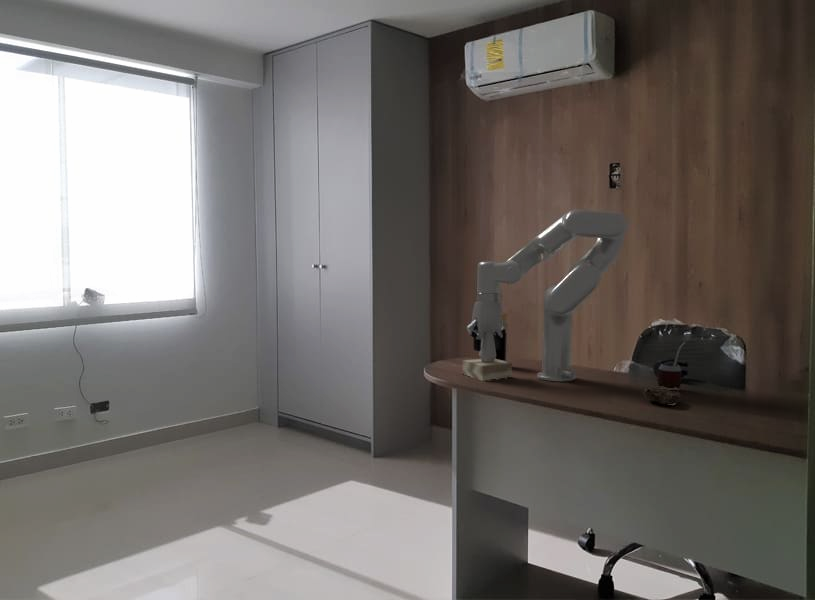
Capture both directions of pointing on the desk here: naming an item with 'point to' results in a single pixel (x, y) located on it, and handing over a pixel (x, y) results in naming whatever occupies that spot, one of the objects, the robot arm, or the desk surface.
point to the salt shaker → (488, 347)
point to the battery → (502, 342)
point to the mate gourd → (670, 373)
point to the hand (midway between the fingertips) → (487, 349)
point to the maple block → (486, 369)
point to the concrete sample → (662, 395)
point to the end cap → (672, 361)
